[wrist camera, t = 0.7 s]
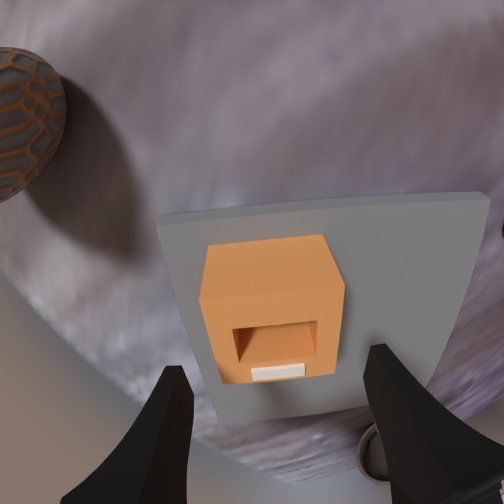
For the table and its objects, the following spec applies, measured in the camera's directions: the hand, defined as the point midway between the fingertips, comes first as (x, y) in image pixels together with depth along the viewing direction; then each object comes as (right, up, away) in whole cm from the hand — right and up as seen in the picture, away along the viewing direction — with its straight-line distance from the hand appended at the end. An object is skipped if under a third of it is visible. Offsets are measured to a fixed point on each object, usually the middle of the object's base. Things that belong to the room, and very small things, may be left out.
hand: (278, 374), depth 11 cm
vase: (-12, +12, +1) cm, 17 cm away
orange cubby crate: (0, +3, +5) cm, 6 cm away
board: (+4, 0, +8) cm, 9 cm away
